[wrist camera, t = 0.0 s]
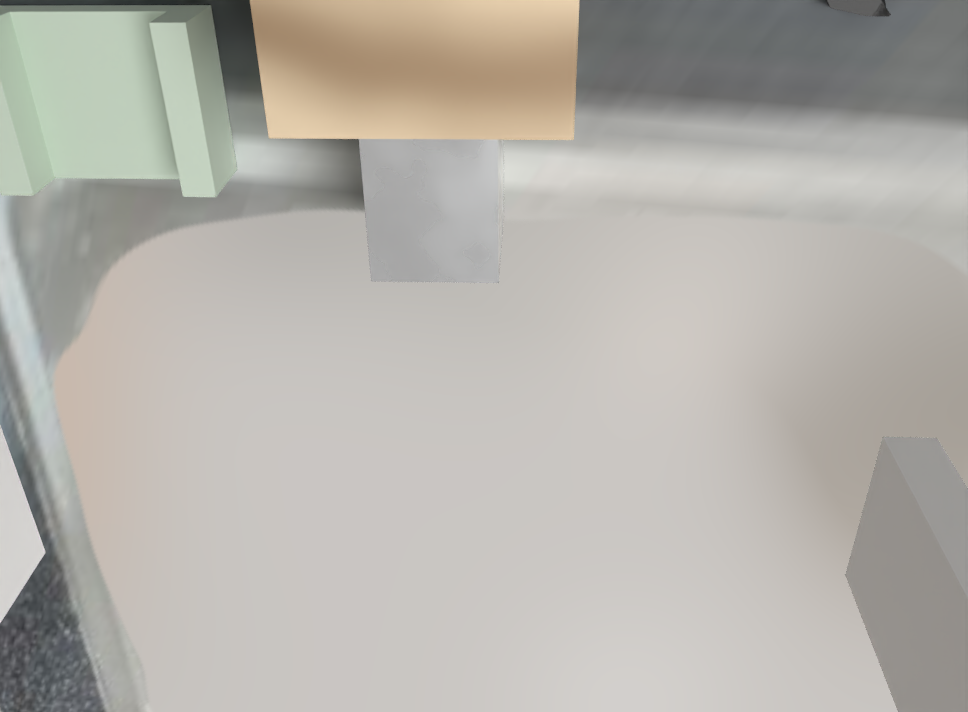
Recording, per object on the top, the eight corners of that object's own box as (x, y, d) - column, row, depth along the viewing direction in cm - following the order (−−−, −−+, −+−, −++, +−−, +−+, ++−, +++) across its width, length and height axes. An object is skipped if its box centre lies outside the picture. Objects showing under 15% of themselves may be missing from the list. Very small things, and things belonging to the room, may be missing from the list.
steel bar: (363, -231, 33) (325, -233, 27) (503, -233, 33) (495, -236, 27) (394, 210, 42) (371, 281, 36) (504, 211, 42) (498, 282, 36)
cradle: (-10, 5, 38) (-52, 22, 35) (210, 5, 38) (185, 22, 35) (36, 168, 42) (1, 195, 39) (237, 169, 41) (215, 197, 38)
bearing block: (305, -91, 35) (242, -56, 28) (572, -93, 35) (581, -58, 27) (322, 67, 39) (269, 138, 31) (566, 67, 38) (573, 140, 30)
